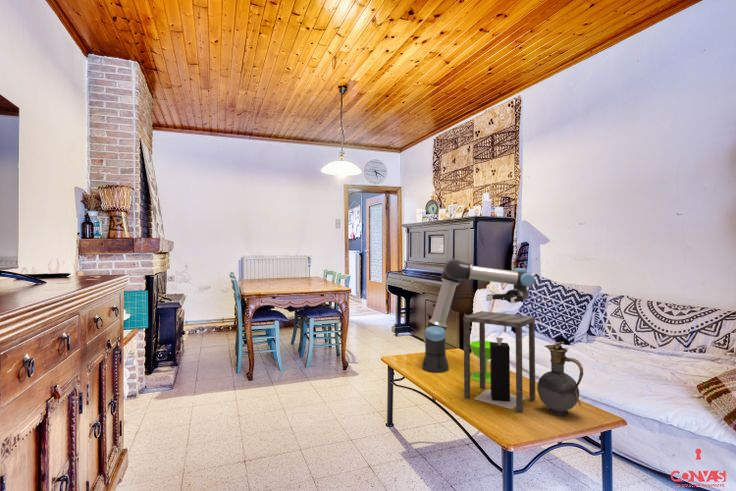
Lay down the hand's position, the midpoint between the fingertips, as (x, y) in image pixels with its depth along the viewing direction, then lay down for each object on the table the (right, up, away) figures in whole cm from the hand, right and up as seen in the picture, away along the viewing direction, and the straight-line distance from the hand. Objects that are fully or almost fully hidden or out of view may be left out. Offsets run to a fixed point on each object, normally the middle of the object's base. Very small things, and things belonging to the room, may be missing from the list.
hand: (498, 299), depth 210 cm
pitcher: (+11, -42, -47) cm, 63 cm away
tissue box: (-10, -42, -30) cm, 52 cm away
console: (-10, -42, -30) cm, 52 cm away
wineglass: (-7, -42, 0) cm, 43 cm away
